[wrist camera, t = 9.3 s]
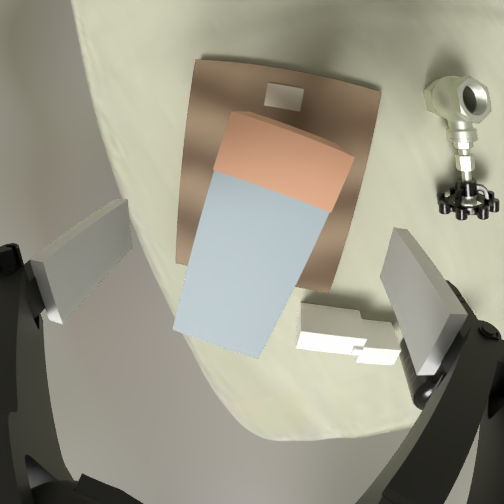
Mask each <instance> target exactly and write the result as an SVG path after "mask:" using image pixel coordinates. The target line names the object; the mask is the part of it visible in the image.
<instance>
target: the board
mask: <svg viewBox="0 0 504 504" xmlns="http://www.w3.org/2000/svg"><path fill="white" fill-rule="evenodd" d="M380 97H381V92H379V91H376V90H373V89H369V88H366V87H362V86H359V85H355V84H352V83H348V82H344V81H340V80H336V79H332V78H328V77H323V76H319V75H314V74H309V73H304V72H299V71H294V70H288V69H282V68H276V67H269V66H262V65H255V64H247V63H237V62H227V61H214V60H197V59H195V65H194V72H193V78H192V85H191V92H190V99H189V106H188V114H187V122H186V130H185V139H184V148H183V158H182V169H181V180H180V192H179V206H178V221H177V240H176V263H177V264H182V265H187V266H188V263H189V259H190V255H191V251H192V247H193V244H194V240H195V236H196V232H197V229H198V225H199V221H200V218H201V214H202V211H203V207H204V204H205V200H206V197H207V193H208V190H209V186H210V183H211V180H212V176H213V173H214V170H213V168H214V164H215V161H216V158H217V155H218V151H219V148H220V145H221V142H222V139H223V136H224V132H225V129H226V126H227V123H228V120H229V117H230V114H231V111H245V112H252V113H255V114H258V115H261V116H264V117H267V118H270V119H273V120H276V121H279V122H282V123H284V124H287V125H290V126H293V127H295V128H298V129H301V130H303V131H306V132H309V133H311V134H314V135H316V136H319V137H321V138H324V139H326V140H329V141H331V142H334V143H336V144H337V145H339V146H340V147H342V148H343V149H344V150H346V151H347V152H349V153H350V154H351V155H353V156H354V157H355V159H354V161H353V163H352V166H351V168H350V171H349V173H348V175H347V178H346V180H345V182H344V185H343V187H342V189H341V192H340V194H339V196H338V198H337V201H336V203H335V205H334V207H333V210H332V212H330V213H329V215H328V217H327V219H326V222H325V224H324V226H323V228H322V230H321V233H320V235H319V237H318V239H317V241H316V244H315V246H314V248H313V250H312V252H311V254H310V256H309V258H308V261H307V263H306V265H305V267H304V269H303V271H302V273H301V275H300V277H299V279H298V281H297V284H296V286H295V287H299V288H305V289H310V290H316V291H321V292H327V293H329V292H330V289H331V286H332V283H333V280H334V277H335V273H336V270H337V267H338V264H339V261H340V258H341V254H342V251H343V248H344V245H345V241H346V238H347V235H348V231H349V228H350V224H351V221H352V217H353V214H354V210H355V206H356V203H357V199H358V195H359V191H360V187H361V184H362V180H363V176H364V172H365V167H366V163H367V159H368V155H369V150H370V146H371V142H372V137H373V132H374V128H375V123H376V118H377V113H378V108H379V103H380Z"/></svg>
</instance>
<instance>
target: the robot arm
mask: <svg viewBox="0 0 504 504" xmlns="http://www.w3.org/2000/svg"><path fill="white" fill-rule="evenodd" d="M131 249H132V239H131V231H130V221H129V210H128V200H127V199H114V200H113V201H111V202H110V203H108V204H107V205H105V206H104V207H102V208H100V209H99V210H97V211H96V212H94V213H93V214H91V215H90V216H88V217H87V218H85V219H84V220H83V221H81V222H80V223H78V224H77V225H75V226H74V227H72V228H71V229H70V230H68V231H67V232H65V233H64V234H63V235H61V236H60V237H59V238H57V239H56V240H55V241H53V242H52V243H51V244H49V245H48V246H47V247H45V248H44V249H43V250H41V251H40V252H39V253H37V254H36V255H35V256H34V257H33V258H31V259H30V260H29V261H28V262H27V263H25V264H24V263H23V260H22V256H21V253H20V250H19V245H17V244H14V243H11V244H6V245H3V246H1V247H0V504H143V503H141V502H140V501H138V500H136V499H135V498H133V497H132V496H130V495H128V494H127V493H125V492H124V491H122V490H120V489H118V488H115V487H112V486H110V485H107V484H105V483H102V482H100V481H98V480H95V479H93V478H91V477H89V476H86V475H84V474H82V475H81V477H80V479H79V481H74V480H73V478H72V476H71V475H70V473H69V471H68V469H67V468H66V466H65V464H64V461H63V458H62V455H61V451H60V447H59V443H58V439H57V434H56V429H55V424H54V419H53V414H52V408H51V402H50V395H49V389H48V381H47V373H46V363H45V352H44V335H43V320H42V317H41V314H40V313H41V312H42V311H43V310H44V309H46V312H47V314H48V317H49V319H50V320H51V321H54V322H57V323H60V324H64V323H65V321H66V320H67V319H68V318H69V317H70V316H71V314H72V313H73V312H74V311H75V310H76V308H77V307H78V306H79V305H80V304H81V303H82V302H83V301H84V299H85V298H86V297H87V296H88V295H89V294H90V293H91V291H93V289H94V288H95V287H96V286H97V285H98V284H99V283H100V282H101V281H102V279H104V277H105V276H106V275H107V274H108V273H109V272H110V271H111V270H112V269H113V268H114V267H115V266H116V265H117V264H118V263H119V261H120V260H121V259H122V258H123V257H124V256H125V255H126V254H127V253H128V252H129V251H130V250H131ZM380 278H381V280H382V283H383V285H384V288H385V290H386V292H387V295H388V297H389V300H390V302H391V305H392V307H393V310H394V312H395V315H396V318H397V320H398V323H399V325H400V328H401V331H402V334H403V336H404V339H405V342H406V345H407V347H408V350H409V353H410V356H411V359H412V362H413V365H414V368H415V371H416V374H417V375H434V374H435V373H436V371H437V370H438V368H439V366H440V365H441V363H442V365H443V367H444V370H445V371H444V373H443V375H442V376H441V378H440V379H439V381H438V382H437V384H436V385H435V387H434V388H433V389H432V392H433V393H432V395H431V397H430V398H429V400H428V402H427V404H426V405H425V407H424V409H423V411H422V412H421V414H420V416H419V417H418V419H417V421H416V422H415V424H414V426H413V427H412V429H411V430H410V432H409V433H408V435H407V437H406V438H405V440H404V441H403V443H402V444H401V446H400V447H399V449H398V450H397V451H396V453H395V454H394V456H393V457H392V459H391V460H390V461H389V462H388V464H387V465H386V467H385V468H384V469H383V471H382V472H381V473H380V474H379V476H378V477H377V478H376V480H375V481H374V482H373V483H372V485H371V486H370V487H369V488H368V490H367V491H366V492H365V493H364V494H363V495H362V497H361V498H360V499H359V500H358V501H357V502H356V503H355V504H444V502H445V500H446V499H447V497H448V495H449V493H450V491H451V489H452V487H453V485H454V483H455V481H456V479H457V477H458V475H459V473H460V471H461V469H462V467H463V464H464V462H465V460H466V457H467V455H468V453H469V450H470V448H471V445H472V443H473V441H474V437H475V435H476V433H477V429H478V427H479V424H480V431H479V440H478V448H477V455H476V461H475V467H474V473H473V478H472V483H471V488H470V493H469V497H468V501H467V504H504V340H502V339H501V335H500V333H499V331H498V330H497V329H496V328H495V327H494V326H493V325H491V324H490V323H488V322H485V321H481V320H478V319H477V318H476V316H475V315H474V313H473V311H472V310H471V308H470V307H469V305H468V304H467V303H466V301H465V299H464V298H463V297H462V295H461V293H460V292H459V291H458V289H457V288H456V287H455V286H454V285H453V284H451V283H450V282H449V281H447V280H445V279H444V278H443V276H442V275H441V273H440V272H439V270H438V269H437V268H436V266H435V265H434V264H433V262H432V261H431V259H430V258H429V257H428V255H427V254H426V253H425V251H424V250H423V249H422V247H421V246H420V245H419V244H418V242H417V241H416V240H415V238H414V237H413V236H412V235H411V233H410V232H409V231H408V230H407V229H401V228H393V232H392V236H391V240H390V243H389V247H388V251H387V254H386V258H385V262H384V265H383V269H382V272H381V275H380Z"/></svg>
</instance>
